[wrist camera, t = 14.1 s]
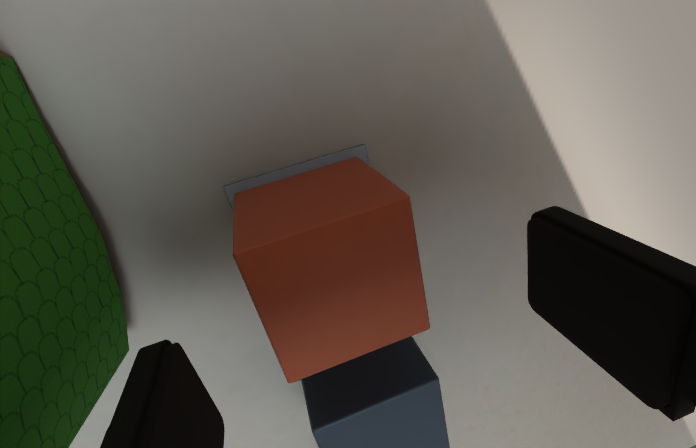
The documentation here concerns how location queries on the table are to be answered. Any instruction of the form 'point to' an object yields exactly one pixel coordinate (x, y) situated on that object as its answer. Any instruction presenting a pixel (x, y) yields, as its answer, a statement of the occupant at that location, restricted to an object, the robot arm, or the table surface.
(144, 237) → the table surface
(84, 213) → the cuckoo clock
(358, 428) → the row of slate cubes
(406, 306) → the orange-red cube
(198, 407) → the robot arm
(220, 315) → the table surface
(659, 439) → the table surface
